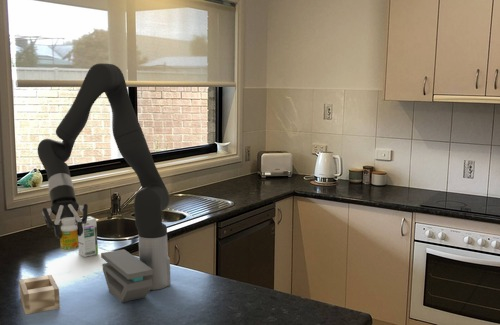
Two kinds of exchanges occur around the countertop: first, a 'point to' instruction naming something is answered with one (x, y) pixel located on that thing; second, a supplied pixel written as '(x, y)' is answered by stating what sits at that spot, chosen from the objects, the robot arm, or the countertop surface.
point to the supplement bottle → (69, 235)
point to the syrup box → (88, 238)
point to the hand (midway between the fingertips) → (70, 235)
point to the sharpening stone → (126, 275)
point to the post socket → (39, 294)
